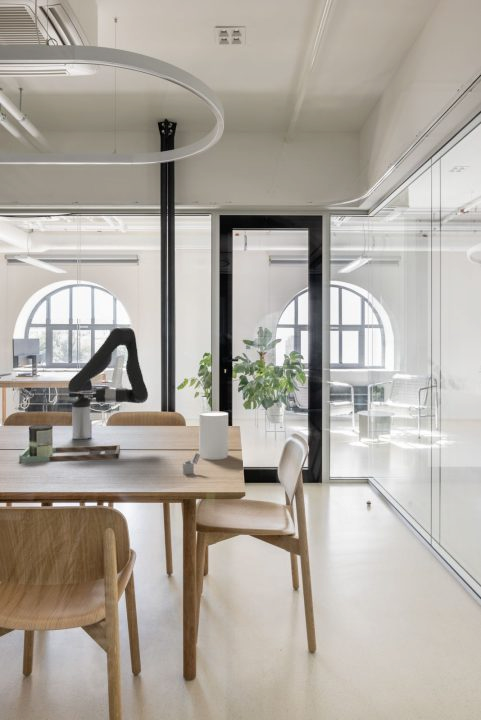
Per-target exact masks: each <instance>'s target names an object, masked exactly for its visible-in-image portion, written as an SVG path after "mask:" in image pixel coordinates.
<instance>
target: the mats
mask: <svg viewBox="0 0 481 720" xmlns="http://www.w3.org/2000/svg"><path fill="white" fill-rule="evenodd" d="M101 452H102V450H99V451H89V453H88V454H102V453H101ZM113 453H116V450H104V454H113Z"/></svg>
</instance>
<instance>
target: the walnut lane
mask: <svg viewBox="0 0 481 720" xmlns="http://www.w3.org/2000/svg"><path fill="white" fill-rule="evenodd" d="M120 447H121V445H120V444H119V445H118V444H116V445H87V446H61V447H60V446H59V447H57V446H56V452H55V453H66V452H67V453H69V452H71V453H72V452H90V451H100V450H101V451H105V450H116V453H113V454H105V453H100V454H89V453H88V454H69V455H65V454H64V455H53V456H50V461H49V462H58V461H61V462H62V461H81V460H84V461H85V460H86V461H87V460H108V459H119V455H120V450H121V448H120ZM18 458H19V457H18ZM19 459H20V460H21V458H19ZM19 463H22V462H21V461H20V462H19Z"/></svg>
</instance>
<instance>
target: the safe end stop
mask: <svg viewBox="0 0 481 720" xmlns="http://www.w3.org/2000/svg"><path fill="white" fill-rule="evenodd" d="M56 447H57V446H56ZM56 447H55V446H54V447H53V453H57V452H56ZM18 458H21V460H20V459H19V461H18V462H19V463H33V462H34V463H36V462H38V463H39V462H51V461H50V456H30V457H29V445H28V446H27V447H26V448H25V449H24V450H23V451H22V452H21V453H20V454H19V456H18ZM20 461H21V462H20Z"/></svg>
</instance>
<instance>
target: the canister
mask: <svg viewBox="0 0 481 720" xmlns="http://www.w3.org/2000/svg"><path fill="white" fill-rule="evenodd" d="M198 417H199V419H198V421H199V422H198V423H199V424H198V425H199V426H198V433H199V434H198V454H200V457H199V459H200V458H201V459H203V460H214V461H215V460H223V459H227V458H228V456H229V413H228V412H226V411H218V410H217V411H202V412H199V413H198Z"/></svg>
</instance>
